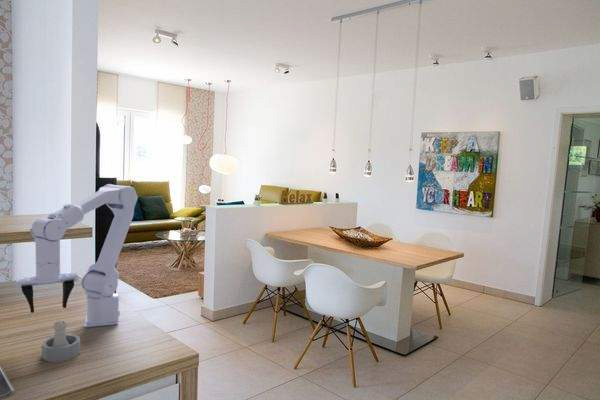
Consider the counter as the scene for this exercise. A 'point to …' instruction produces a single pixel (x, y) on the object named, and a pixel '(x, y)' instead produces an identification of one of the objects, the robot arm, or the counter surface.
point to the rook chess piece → (60, 334)
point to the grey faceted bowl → (61, 349)
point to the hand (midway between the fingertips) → (48, 309)
